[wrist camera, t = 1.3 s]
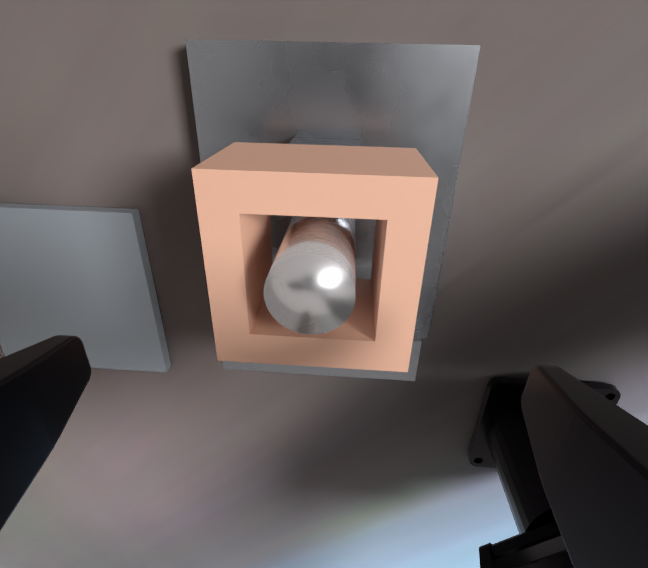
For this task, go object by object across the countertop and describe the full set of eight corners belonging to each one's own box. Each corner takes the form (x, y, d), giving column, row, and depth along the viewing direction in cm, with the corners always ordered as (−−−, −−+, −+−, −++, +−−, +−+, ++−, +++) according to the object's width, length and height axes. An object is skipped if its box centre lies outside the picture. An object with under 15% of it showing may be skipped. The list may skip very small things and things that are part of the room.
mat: (171, 365, 22) (166, 372, 22) (16, 355, 23) (8, 362, 22) (138, 209, 18) (131, 213, 17) (-52, 200, 18) (-65, 204, 18)
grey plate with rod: (424, 326, 20) (461, 463, 13) (227, 316, 20) (162, 441, 13) (472, 46, 14) (584, 26, 7) (195, 41, 15) (54, 17, 8)
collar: (396, 304, 16) (407, 372, 12) (247, 297, 16) (217, 360, 13) (415, 148, 13) (438, 177, 9) (234, 142, 13) (191, 168, 10)
